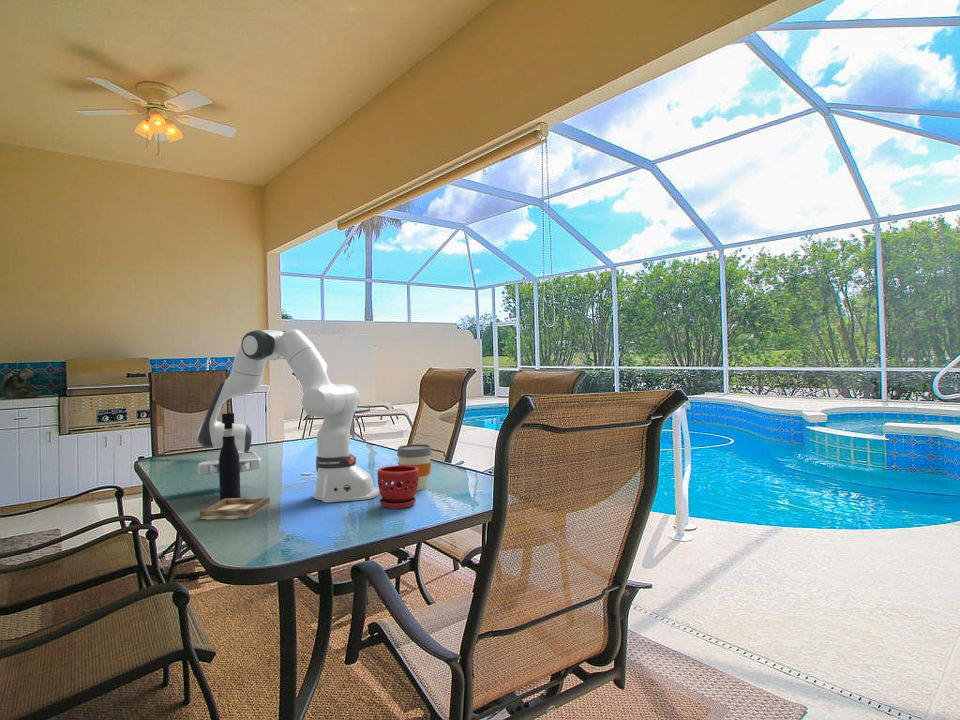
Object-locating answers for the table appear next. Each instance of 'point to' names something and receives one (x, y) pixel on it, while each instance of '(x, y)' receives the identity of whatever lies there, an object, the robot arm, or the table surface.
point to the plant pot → (398, 486)
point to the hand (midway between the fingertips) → (229, 469)
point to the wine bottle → (229, 462)
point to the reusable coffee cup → (417, 461)
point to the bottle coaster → (235, 508)
